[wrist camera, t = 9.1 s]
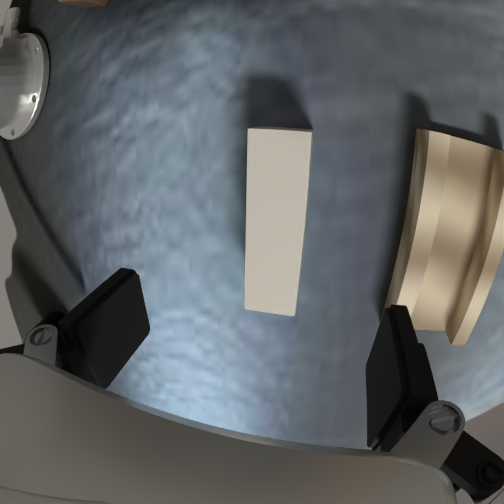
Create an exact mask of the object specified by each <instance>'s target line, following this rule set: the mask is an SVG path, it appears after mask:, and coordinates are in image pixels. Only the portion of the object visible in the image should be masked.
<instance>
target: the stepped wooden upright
mask: <svg viewBox="0 0 504 504" xmlns="http://www.w3.org/2000/svg"><path fill="white" fill-rule="evenodd" d="M59 2H61V3H65V4H70V5H74V6H78V7H82V8H83V7H106V6H107V5H108V2H109V0H59Z"/></svg>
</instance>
